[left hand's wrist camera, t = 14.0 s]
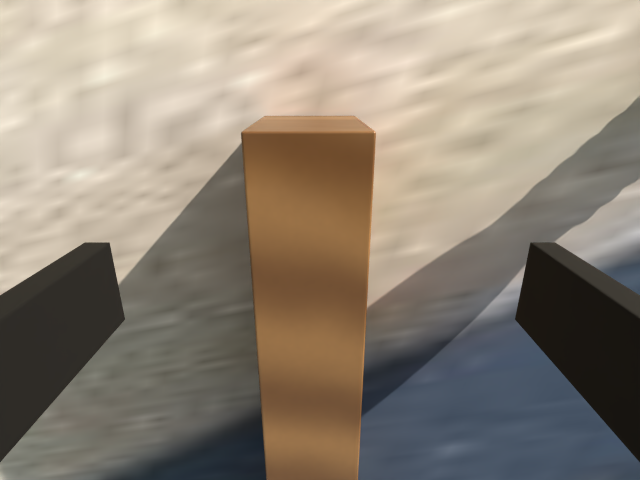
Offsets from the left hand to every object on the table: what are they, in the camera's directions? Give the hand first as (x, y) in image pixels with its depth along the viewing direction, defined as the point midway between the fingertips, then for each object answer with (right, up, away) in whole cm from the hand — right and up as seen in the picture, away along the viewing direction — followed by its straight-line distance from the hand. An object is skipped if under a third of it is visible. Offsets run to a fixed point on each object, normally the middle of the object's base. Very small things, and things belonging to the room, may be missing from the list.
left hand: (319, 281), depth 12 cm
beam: (-1, -26, +22) cm, 34 cm away
